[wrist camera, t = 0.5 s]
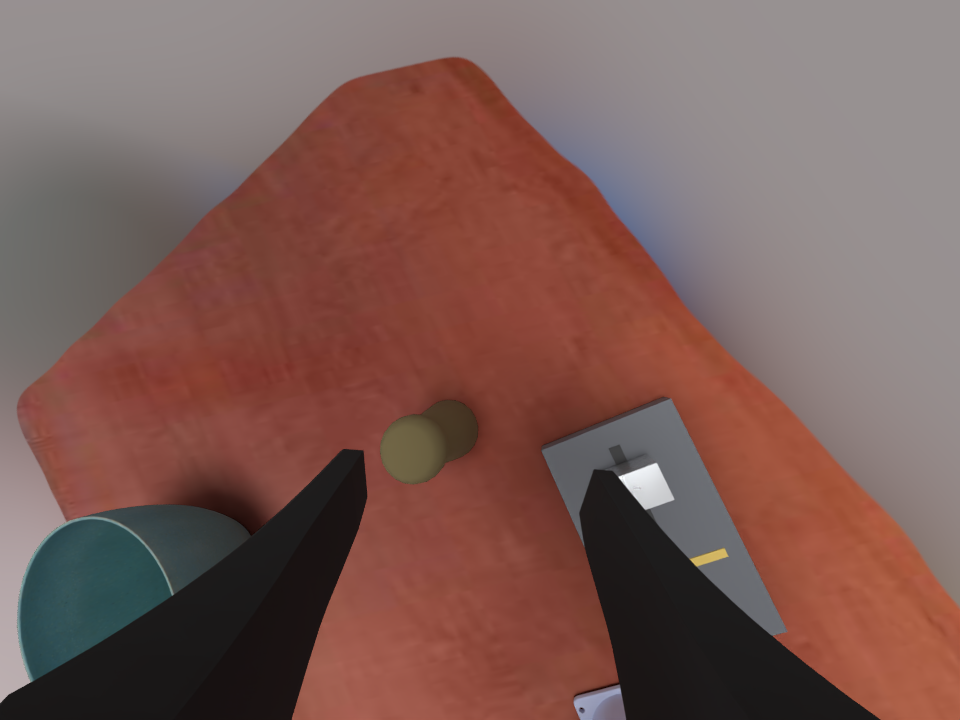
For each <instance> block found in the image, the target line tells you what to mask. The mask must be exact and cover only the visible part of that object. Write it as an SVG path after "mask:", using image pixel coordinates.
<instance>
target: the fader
mask: <svg viewBox="0 0 960 720" xmlns="http://www.w3.org/2000/svg"><path fill="white" fill-rule="evenodd" d="M605 470H610V471H613V472H614V473H615V474H616V475H617V476H618V477H619V479H620V480H621V481H622V482H623V484H624V485H625V486H626V487H627V488H628V490H629V491H630V492H631V493H632V495H633V496H634V497H635V498H636V499H637V501H638V502H639V503H640V504H641V505H642V507H643V508H644V509H645V510H647V509H650V508H653V507H655V506H658V505H661V504H664V503H667V502H670V501H673V500H675V499H674V497H673V495H672V493H671V491H670V489H669V487H668V485H667V483H666V481H665V479H664V477H663V475H662V473H661V471H660V468H659V466H658V464H657V463H656V462H655V461H654V460H653V459H652V458H651V457H650V456H649V455H647V454H645V455H642V456H640V457H637V458H635V459H632V460H629V461H627V462H624V463H621V464H619V465H616V466H613V467H611V468H608V469H605Z"/></svg>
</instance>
